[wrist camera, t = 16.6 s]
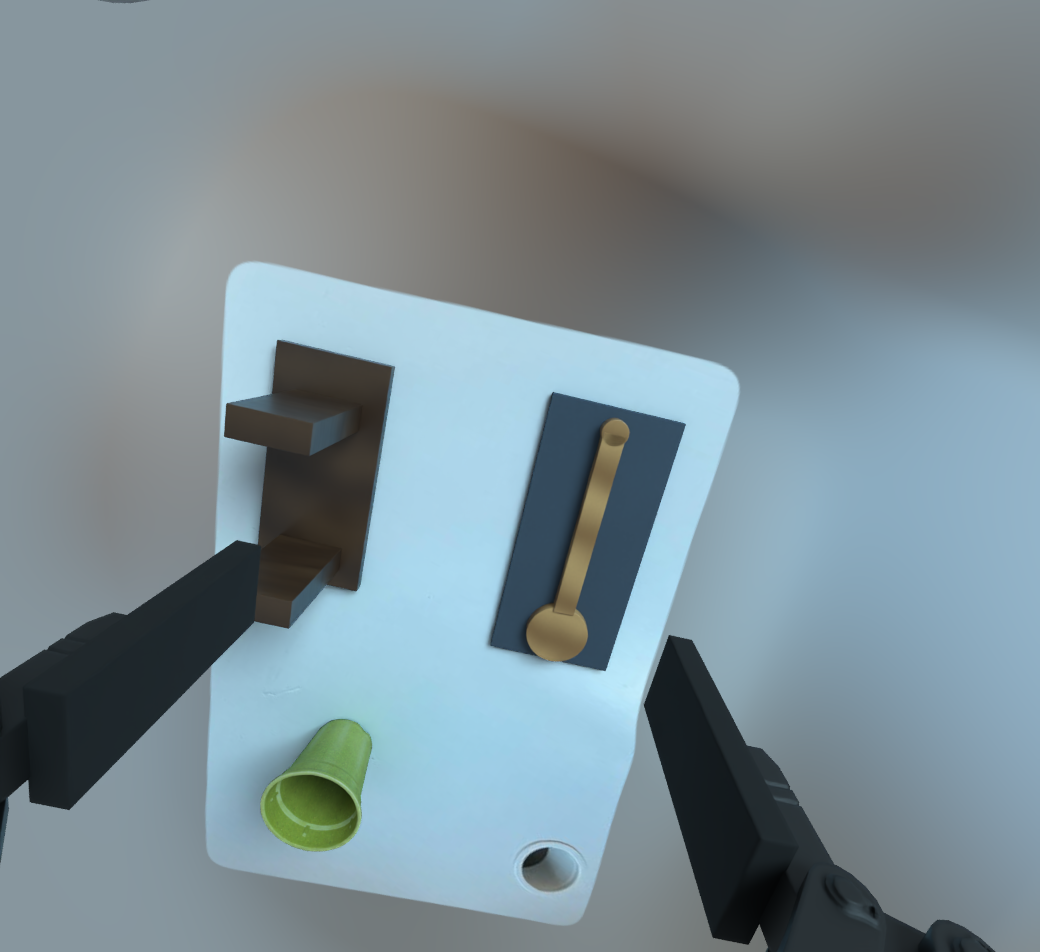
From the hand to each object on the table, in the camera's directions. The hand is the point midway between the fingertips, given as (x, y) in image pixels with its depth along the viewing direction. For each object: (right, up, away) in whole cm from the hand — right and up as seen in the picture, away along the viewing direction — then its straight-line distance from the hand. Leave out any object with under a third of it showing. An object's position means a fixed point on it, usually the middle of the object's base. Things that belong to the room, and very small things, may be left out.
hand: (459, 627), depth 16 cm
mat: (+8, -1, +31) cm, 32 cm away
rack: (-16, +5, +30) cm, 35 cm away
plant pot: (-17, -24, +39) cm, 49 cm away
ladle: (+8, -2, +31) cm, 32 cm away
